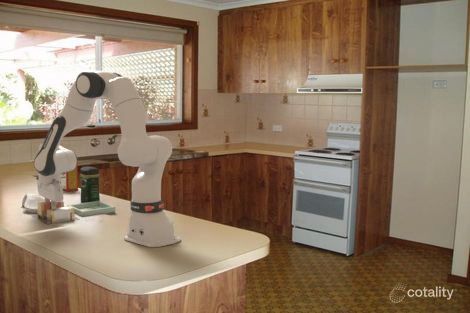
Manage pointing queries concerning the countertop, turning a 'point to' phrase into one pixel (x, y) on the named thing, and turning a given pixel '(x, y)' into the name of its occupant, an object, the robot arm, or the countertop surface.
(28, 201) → the spoon rest
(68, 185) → the baking soda box
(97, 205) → the tray
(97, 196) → the coffee jar
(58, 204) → the fuse
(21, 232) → the countertop surface
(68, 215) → the fuse holder
